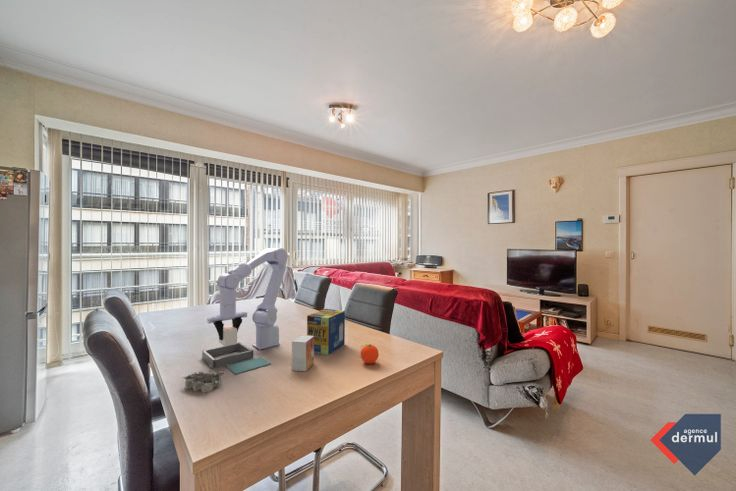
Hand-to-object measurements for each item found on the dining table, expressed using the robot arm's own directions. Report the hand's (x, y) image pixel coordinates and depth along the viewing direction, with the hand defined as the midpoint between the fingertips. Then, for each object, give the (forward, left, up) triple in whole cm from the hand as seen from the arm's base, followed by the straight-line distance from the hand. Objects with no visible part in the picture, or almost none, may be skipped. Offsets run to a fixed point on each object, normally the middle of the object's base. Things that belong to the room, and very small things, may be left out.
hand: (227, 338), depth 117 cm
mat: (-3, +13, -8) cm, 15 cm away
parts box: (0, 0, -2) cm, 2 cm away
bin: (0, 0, -8) cm, 8 cm away
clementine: (-37, +42, -8) cm, 57 cm away
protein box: (-35, +18, -8) cm, 40 cm away
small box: (-17, +28, -8) cm, 34 cm away
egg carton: (+14, +19, -8) cm, 25 cm away
